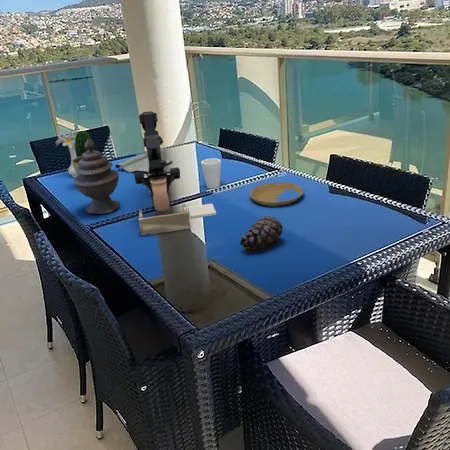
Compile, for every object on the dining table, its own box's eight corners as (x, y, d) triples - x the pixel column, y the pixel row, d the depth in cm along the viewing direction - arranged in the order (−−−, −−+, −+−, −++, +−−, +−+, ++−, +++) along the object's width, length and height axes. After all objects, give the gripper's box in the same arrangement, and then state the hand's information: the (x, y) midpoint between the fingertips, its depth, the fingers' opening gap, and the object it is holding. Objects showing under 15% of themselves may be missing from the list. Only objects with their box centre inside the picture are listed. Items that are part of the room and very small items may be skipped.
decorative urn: (109, 196, 236) (95, 128, 219) (133, 207, 223) (120, 136, 206) (73, 211, 224) (55, 140, 207) (95, 224, 211) (79, 150, 194)
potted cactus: (71, 189, 251) (58, 133, 239) (89, 180, 264) (77, 125, 252) (95, 191, 246) (83, 134, 233) (112, 181, 258) (102, 126, 246)
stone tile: (188, 209, 214) (188, 206, 214) (212, 205, 216) (212, 203, 215) (191, 218, 205) (190, 216, 204) (216, 214, 206) (216, 212, 206)
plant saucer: (267, 213, 204) (267, 205, 203) (240, 196, 224) (239, 190, 222) (313, 199, 213) (313, 192, 212) (283, 185, 233) (283, 178, 232)
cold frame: (140, 218, 209) (137, 203, 206) (185, 212, 212) (184, 197, 209) (141, 235, 193) (138, 219, 190) (190, 228, 195) (188, 212, 192)
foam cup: (220, 189, 234) (218, 164, 228) (202, 189, 236) (199, 164, 230) (224, 183, 242) (222, 158, 237) (206, 183, 244) (204, 158, 239)
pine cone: (236, 251, 174) (234, 226, 170) (265, 233, 186) (264, 209, 182) (259, 259, 168) (258, 233, 163) (288, 239, 180) (287, 214, 176)
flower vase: (98, 172, 275) (90, 129, 265) (69, 182, 263) (59, 137, 253) (86, 169, 283) (78, 127, 273) (58, 178, 272) (48, 134, 262)
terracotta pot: (151, 209, 200) (146, 181, 195) (160, 203, 205) (156, 176, 200) (163, 211, 197) (159, 182, 192) (173, 205, 202) (169, 177, 197)
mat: (148, 176, 264) (147, 168, 262) (116, 172, 275) (114, 164, 273) (173, 163, 281) (172, 155, 280) (142, 160, 293) (140, 152, 291)
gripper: (130, 154, 194) (135, 188, 189) (176, 148, 196) (182, 182, 191) (133, 167, 204) (138, 200, 199) (177, 161, 207) (182, 194, 201)
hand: (160, 194), depth 197 cm, fingers closed on terracotta pot, 6 cm apart
